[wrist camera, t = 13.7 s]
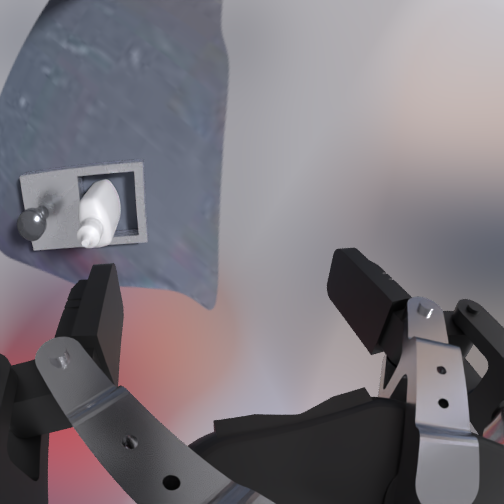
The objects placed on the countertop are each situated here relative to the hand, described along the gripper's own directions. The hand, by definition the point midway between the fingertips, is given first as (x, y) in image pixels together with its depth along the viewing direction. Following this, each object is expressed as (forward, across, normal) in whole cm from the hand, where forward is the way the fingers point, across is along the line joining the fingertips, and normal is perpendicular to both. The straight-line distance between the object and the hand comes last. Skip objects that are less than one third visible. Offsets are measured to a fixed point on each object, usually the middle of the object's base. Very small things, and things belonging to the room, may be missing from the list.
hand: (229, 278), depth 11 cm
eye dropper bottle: (+28, +10, +6) cm, 31 cm away
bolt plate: (+28, +13, +6) cm, 32 cm away
